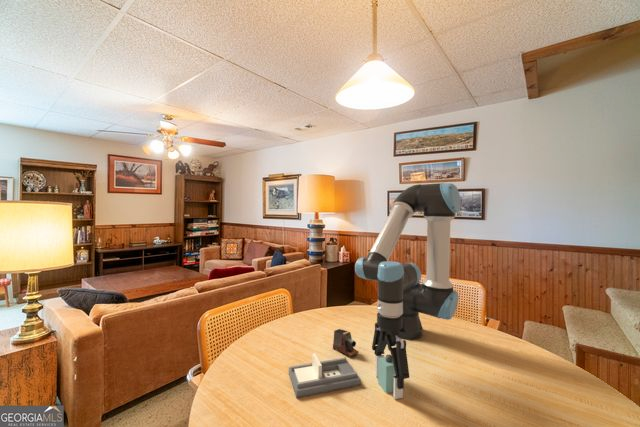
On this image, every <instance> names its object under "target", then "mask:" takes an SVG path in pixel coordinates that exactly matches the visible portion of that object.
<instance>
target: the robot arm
mask: <svg viewBox="0 0 640 427" xmlns="http://www.w3.org/2000/svg"><path fill="white" fill-rule="evenodd" d="M460 196H461V195H460V192H459V189H458V187H457V185H455V184H453V183H451V182H448V183H447V182H446V183H445V182H441V183H439V182H438V183H426V184H423V183H422V184H420V183H419V184H415V185H411V186H409V187H407V188H405V189H404V190H403V191H402V192H400V194H399V195H398V196H397V197H395V200H393V201H392V204H391V206H390V213H389V215H388V216H387V219H386V221H385V222H384V224H383V226H382V228H381V229H380V232H379V233H378V236H377V237H376V239H375V241H374V243H373V245H372V246H371V249H370V251H369V252H368V254H367V255H366V257H365V256H364V257H359V258H358V259H357V260H356V262H355V264H354V272H355V274H356V276H357V277H359V278H361V279H364V280H366V281H368V280H369V281H371V282H372V281H373V282H377V304H376V308H377V314H376V322H374V334H373V340H372V344H371V349H372V351H374V355H375V377H376V378H378V366H379V358H383V357H385V349H386V348H387V349H388V351H389V352H390V355H391V356H392V361H393V365H394V370H395V374H396V375H394V390H393V392H392V394H393V399H394V400H398V399H402V398H404V387H405V379H410V371H409V363H408V361H409V360H408V354H407V341H406V340H416V339H417V340H418V339H419V338H421V337H422V336H423V332H424V331H423V330H424V328H423V325H422V322H421V319H420V314H423V315H427V316H431V317H434V318H437V319H442V320H447V321H448V320H451V319H452V318H453V317H454V315H455V313H456V310H457V309H458V308H457V307H458V303H459V298H460V296H459V292H458V291H456V290H454V284H453V283H452V282H451V281H450V268H451V267H450V260H451V221H452V220H454V219H455V218H456V214H457V213H459V212H460V211H461V207H462V205H461V204H462V203H461V197H460ZM415 213H423V218H424V219H425V220H426V221H427V222H426V223H427V225H426V227H427V228H426V233H427V234H426V274H425V275H426V277H425V279H423V281H422V283H421V282H420V281H421V278H422V272H421V268H419V266H418V265H417V264H415V263H412V262H404V263H401V262H398V261H392V260H390V258H391V255H392V253H393V252H394V249H395V247H396V245H397V244H398V241H399V239H400V237H401V235H402V233H403V231H404V229H405V226H406V224H407V223H408V220H409V219H411V218H412V217H413V216H414V214H415ZM389 260H390V261H389ZM419 313H420V314H419ZM402 339H403V340H402ZM405 339H406V340H405Z"/></svg>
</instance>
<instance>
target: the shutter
mask: <svg viewBox="0 0 640 427" xmlns="http://www.w3.org/2000/svg"><path fill="white" fill-rule="evenodd" d="M311 355H312V356H311V361H312V362H311V363H312V366H309V367H303V368H297V369H294V372H295V375H296V377H297V380H298V383H299V382H304V381H310V380H315V379H321V378H322V365H321V363H320V362H321V361H320V359H319V358H318V355H317V354H316V353H312V354H311Z"/></svg>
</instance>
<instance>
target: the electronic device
mask: <svg viewBox="0 0 640 427" xmlns="http://www.w3.org/2000/svg"><path fill="white" fill-rule="evenodd" d="M332 342H333V344H332V349H334V350H336V351H338V352H340V353H342V354H345V355H346V356H347V357H348V358H349V359H350V358H352V357H354V356H356V355H357V354H358V353H359V351H358V349H356V348H355V347H356V345H357V342H356V341H355V340H353V339H352V333H351V332H350V331H349V330H344V329H341V328H338V329H335V330H333V341H332Z"/></svg>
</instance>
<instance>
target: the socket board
mask: <svg viewBox="0 0 640 427" xmlns="http://www.w3.org/2000/svg"><path fill="white" fill-rule="evenodd" d="M349 362H350V361H348V360H347V358H346V357H339V358H334V359H327V360H323V361H320V363H321V365H322V378H321V379H315V380H310V381H304V382H299V383H298V380H297V377H296V375H295V372H294V369H297V368H303V367H309V366H312V362H311V363H310V362H309V363H304V364H298V365H297V364H296V365H291V366H289V367H288V376H289V379H290V382H291V385H292V389H293V392H294V395H295V398H296V399H299V398H304V397H310V396H313V395H318V394H323V393H329V392H333V391H338V390H339V391H340V390H344V389H349V388H354V387H358V386H361V377H360V376H359V375H358V373H357V371H355V369H354V368H353V367H352V365H351V364H350V363H349Z"/></svg>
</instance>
